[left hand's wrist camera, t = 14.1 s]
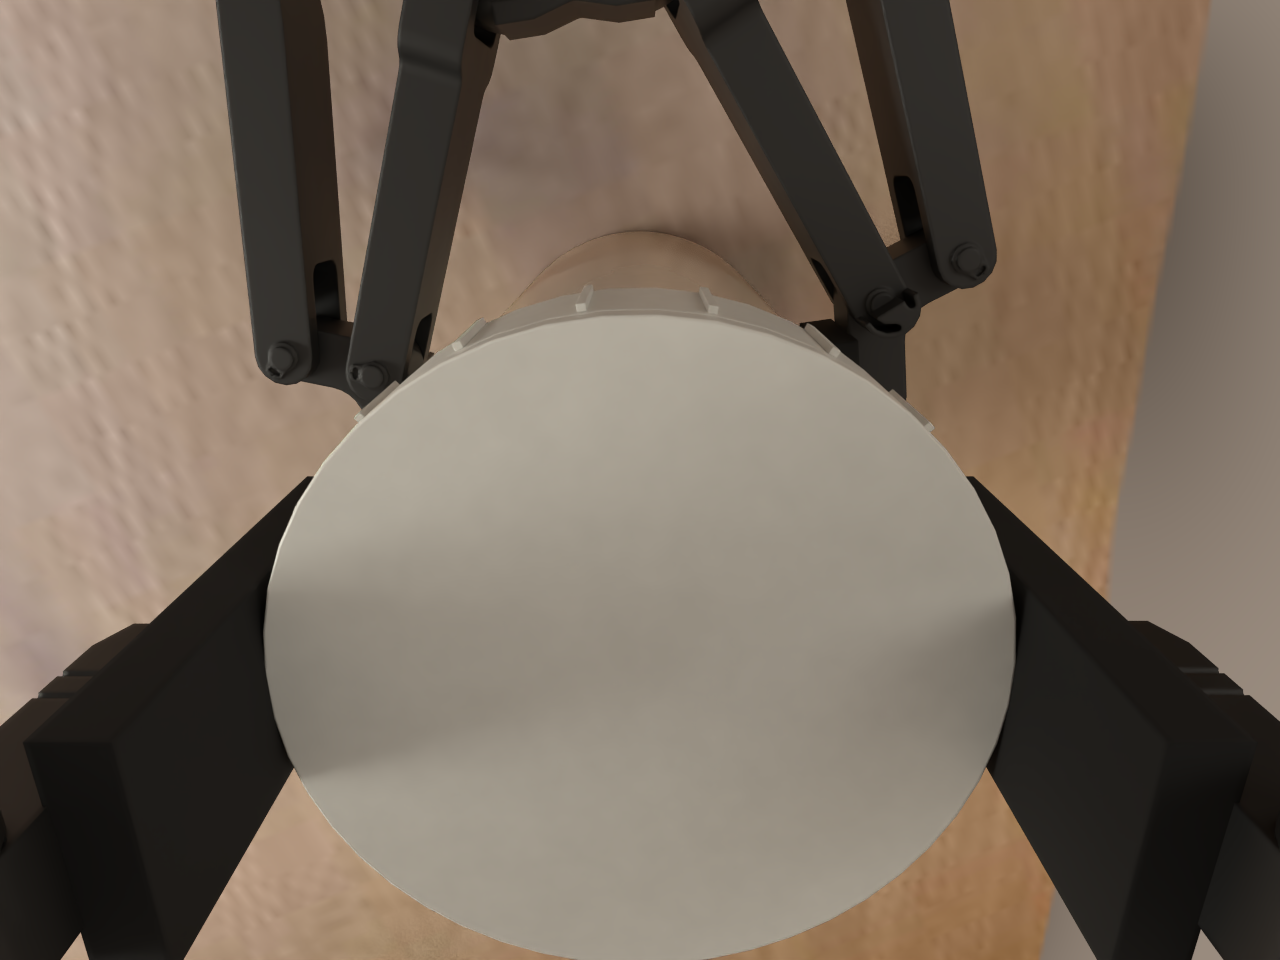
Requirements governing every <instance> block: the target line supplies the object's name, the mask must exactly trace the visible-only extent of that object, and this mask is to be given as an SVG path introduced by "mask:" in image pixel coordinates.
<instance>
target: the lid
mask: <svg viewBox="0 0 1280 960" xmlns="http://www.w3.org/2000/svg"><path fill="white" fill-rule="evenodd" d="M354 419H355V420H356V421H357V422H358V423H357V424H356V425H355V426H354V428H353V429H352V430H351V431H350V432H349V433H348V434H347V436H346V437H345V438H344V439H343V440H342V441H341V442H340V444H339V445H338V446H337V447H336V448H335V449H334V450H333V452H332V453H331V454H330V455H329V456H328V457H327V458H326V460H325V461H324V462H323V463H322V465H321V467H320V468H319V470H318V471H317V473H316V474H315V476H314V478H313V479H312V481H311V482H310V484H309V485H308V487H307V488H306V490H305V492H304V493H303V495H302V496H301V498H300V499H299V501H298V503H297V505H296V506H295V509H294V511H293V514H292V516H291V519H290V521H289V523H288V525H287V528H286V530H285V532H284V535H283V537H282V539H281V541H280V544H279V547H278V551H277V554H276V558H275V562H274V566H273V569H272V573H271V577H270V581H269V585H268V589H267V599H266V608H265V618H264V628H263V640H264V659H265V669H266V676H267V681H268V687H269V692H270V698H271V703H272V708H273V714H274V719H275V721H276V724H277V727H278V730H279V732H280V735H281V738H282V741H283V744H284V746H285V749H286V752H287V755H288V757H289V759H290V761H291V763H292V764H293V766H294V768H295V770H296V772H297V774H298V776H299V778H300V780H301V781H302V783H303V785H304V787H305V789H306V791H307V793H308V794H309V796H310V797H311V798H312V800H313V801H314V803H315V804H316V805H317V807H318V808H319V810H320V811H321V812H322V814H323V815H324V817H325V818H326V819H327V821H328V822H329V824H330V825H331V826H332V827H333V829H334V830H335V831H336V832H337V833H338V834H339V835H340V836H341V837H342V838H343V839H344V840H345V842H346V843H347V844H348V845H349V846H350V847H351V848H352V849H353V850H354V851H355V852H356V853H357V855H358V856H359V857H360V858H362V859H363V860H364V861H365V862H366V863H367V864H369V865H370V866H371V867H372V868H373V869H375V870H376V871H377V872H378V873H379V874H380V875H382V876H383V877H384V878H385V879H386V880H387V881H389V882H390V883H391V884H392V885H394V886H395V887H397V888H398V889H400V890H401V891H403V892H404V893H406V894H407V895H409V896H410V897H412V898H413V899H415V900H416V901H418V902H419V903H421V904H422V905H424V906H425V907H427V908H429V909H431V910H433V911H434V912H436V913H438V914H440V915H442V916H444V917H446V918H448V919H450V920H452V921H453V922H455V923H457V924H459V925H461V926H463V927H466V928H468V929H471V930H473V931H476V932H478V933H481V934H483V935H486V936H488V937H491V938H493V939H496V940H498V941H501V942H504V943H507V944H511V945H515V946H518V947H522V948H525V949H529V950H532V951H536V952H539V953H543V954H548V955H554V956H560V957H565V958H571V959H576V960H704V959H712V958H716V957H721V956H726V955H730V954H735V953H740V952H744V951H749V950H753V949H756V948H759V947H762V946H765V945H768V944H772V943H775V942H778V941H781V940H784V939H787V938H790V937H793V936H795V935H797V934H800V933H802V932H804V931H806V930H809V929H811V928H813V927H816V926H818V925H820V924H822V923H825V922H827V921H829V920H831V919H833V918H835V917H836V916H838V915H840V914H842V913H843V912H845V911H847V910H849V909H850V908H852V907H854V906H856V905H857V904H859V903H861V902H863V901H864V900H866V899H867V898H869V897H870V896H872V895H873V894H874V893H876V892H877V891H878V890H880V889H881V888H883V887H884V886H885V885H887V884H888V883H889V882H891V881H892V880H894V879H895V878H896V877H898V876H899V875H900V874H901V873H902V872H904V871H905V870H906V869H907V868H908V867H909V866H910V865H911V864H912V863H913V862H914V861H915V860H917V859H918V858H919V857H920V856H921V855H922V854H923V853H924V852H925V851H926V850H927V849H928V848H930V847H931V845H932V844H933V843H934V842H935V841H936V839H937V838H938V837H939V836H940V835H941V834H942V832H943V831H944V830H945V829H946V828H947V827H948V825H949V824H950V823H951V822H952V821H953V819H954V818H955V817H956V816H957V815H958V813H959V811H960V810H961V808H962V807H963V805H964V804H965V802H966V801H967V799H968V798H969V796H970V794H971V793H972V791H973V790H974V788H975V787H976V785H977V784H978V782H979V781H980V778H981V776H982V774H983V772H984V770H985V768H986V766H987V764H988V762H989V759H990V757H991V755H992V753H993V751H994V749H995V747H996V745H997V742H998V739H999V736H1000V732H1001V729H1002V726H1003V723H1004V719H1005V716H1006V713H1007V710H1008V706H1009V701H1010V695H1011V689H1012V683H1013V677H1014V671H1015V664H1016V614H1015V608H1014V601H1013V595H1012V588H1011V582H1010V576H1009V571H1008V568H1007V565H1006V562H1005V559H1004V556H1003V553H1002V550H1001V547H1000V543H999V540H998V537H997V534H996V531H995V529H994V527H993V525H992V523H991V521H990V519H989V517H988V515H987V513H986V511H985V509H984V507H983V505H982V503H981V501H980V499H979V497H978V495H977V493H976V491H975V489H974V487H973V486H972V485H971V483H970V482H969V480H968V479H967V478H966V476H965V475H964V473H963V472H962V471H961V469H960V468H959V466H958V465H957V464H956V462H955V461H954V459H953V458H952V457H951V455H950V454H949V452H948V451H947V450H946V448H945V447H944V446H943V445H942V444H941V443H940V442H939V441H938V440H937V439H936V438H935V437H934V436H933V435H932V434H931V433H930V432H931V431H932V430H933V429H934V428H935V427H934V426H933V425H932V424H931V423H930V422H929V421H928V420H927V419H926V418H925V417H924V416H923V415H921V414H920V413H919V412H918V411H917V410H916V409H915V408H914V407H912V406H911V405H910V404H909V403H908V402H907V401H906V400H904V399H903V398H902V397H901V396H900V395H899V394H898V393H897V392H895V391H894V390H893V389H892V390H891V391H890V392H888V391H887V390H885V389H884V388H883V387H882V386H881V385H880V384H879V383H878V382H877V381H876V380H875V379H873V378H872V377H871V376H870V375H869V374H868V373H867V372H866V371H865V370H863V369H862V368H861V367H859V366H858V365H857V364H856V363H854V362H853V361H852V360H850V359H849V358H848V357H847V356H845V355H844V354H843V353H841V351H840V350H839V349H838V348H837V347H836V346H835V345H834V344H832V343H831V342H830V341H829V340H828V339H827V338H826V337H825V336H824V335H823V334H822V333H821V332H819V331H818V330H817V329H816V328H815V327H814V326H812V325H810V324H809V323H807V325H806V327H805V328H804V329H803V328H802V327H800V326H798V325H796V324H795V323H793V322H791V321H789V320H786V319H784V318H781V317H779V316H776V315H774V314H771V313H769V312H766V311H764V310H761V309H759V308H756V307H754V306H751V305H749V304H745V303H741V302H737V301H733V300H729V299H725V298H721V297H717V296H713V295H712V294H711V292H710V290H709V289H708V288H706V287H700V289H699V292H690V291H681V290H672V289H663V288H618V289H603V290H597V291H594V290H593V285H586V286H584V288H583V290H582V292H581V293H578V294H571V295H565V296H560V297H557V298H554V299H550V300H547V301H543V302H540V303H537V304H533V305H530V306H527V307H523V308H520V309H517V310H515V311H512V312H510V313H508V314H506V315H504V316H501V317H499V318H497V319H495V320H493V321H490V322H488V323H486V321H485V319H484V318H481V319H479V320H477V321H476V322H475V323H474V324H472V325H471V326H470V327H469V328H468V329H467V330H466V331H465V332H464V333H463V334H462V335H461V336H460V337H459V338H458V339H457V340H456V341H454V342H453V343H451V344H450V345H448V346H447V347H445V348H444V349H442V350H440V351H439V352H437V353H436V354H435V355H434V356H433V357H432V358H430V359H429V360H428V361H427V362H426V363H424V364H423V365H422V366H421V367H420V368H419V369H417V370H416V371H415V372H414V373H413V374H412V375H410V376H409V377H408V378H407V379H406V380H405V381H403V382H402V383H401V384H399V383H398V382H396V381H394V382H393V383H392V384H391V385H390V386H388V387H387V388H386V389H385V390H384V391H383V392H382V393H380V394H379V395H378V396H377V397H376V398H375V399H374V400H372V401H371V402H370V403H369V404H368V405H367V406H366V407H364V408H363V409H362V410H361V411H360V412H359V413H358V414H357V415H356V416H355V417H354Z"/></svg>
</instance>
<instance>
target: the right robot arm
mask: <svg viewBox="0 0 1280 960" xmlns="http://www.w3.org/2000/svg"><path fill="white" fill-rule="evenodd" d="M846 3H847V7H848V12H849V16H850V20H851V25H852V29H853V34H854V38H855V42H856V47H857V51H858V55H859V60H860V64H861V69H862V73H863V77H864V82H865V86H866V91H867V95H868V99H869V104H870V108H871V112H872V117H873V121H874V126H875V130H876V134H877V139H878V143H879V148H880V152H881V156H882V161H883V165H884V169H885V174H886V178H887V183H888V187H889V191H890V196H891V200H892V205H893V209H894V213H895V218H896V222H897V226H898V231H899V235H900V241H898V242H896V243H894V244H892V245H891V246H889V247H887V248H886V246H885V244H884V242H883V240H882V238H881V236H880V235H879V233H878V231H877V229H876V227H875V225H874V223H873V221H872V219H871V217H870V215H869V214H868V212H867V210H866V208H865V206H864V204H863V202H862V200H861V198H860V196H859V194H858V193H857V191H856V189H855V187H854V185H853V183H852V181H851V179H850V177H849V175H848V173H847V172H846V170H845V168H844V166H843V164H842V162H841V160H840V158H839V156H838V154H837V152H836V151H835V149H834V147H833V145H832V143H831V141H830V139H829V137H828V135H827V133H826V131H825V129H824V128H823V126H822V124H821V122H820V120H819V118H818V116H817V114H816V112H815V110H814V108H813V107H812V105H811V103H810V101H809V99H808V97H807V95H806V93H805V91H804V89H803V87H802V86H801V84H800V82H799V80H798V78H797V76H796V74H795V72H794V70H793V68H792V66H791V65H790V63H789V61H788V59H787V57H786V55H785V53H784V51H783V49H782V47H781V45H780V44H779V42H778V40H777V38H776V36H775V34H774V32H773V30H772V28H771V26H770V24H769V23H768V21H767V19H766V17H765V15H764V13H763V11H762V9H761V6H760V4H759V1H758V0H403V5H402V11H401V17H400V22H399V30H398V52H399V59H400V60H399V72H398V78H397V83H396V89H395V95H394V100H393V106H392V111H391V117H390V123H389V128H388V134H387V139H386V145H385V151H384V156H383V162H382V167H381V173H380V179H379V184H378V190H377V195H376V201H375V207H374V212H373V218H372V223H371V229H370V235H369V240H368V246H367V251H366V257H365V263H364V268H363V274H362V279H361V285H360V291H359V296H358V302H357V307H356V313H355V319H354V323H353V322H348V321H347V314H346V300H345V286H344V272H343V257H342V243H341V229H340V215H339V201H338V187H337V173H336V159H335V145H334V131H333V117H332V103H331V89H330V75H329V61H328V47H327V37H326V28H325V20H324V14H323V10H322V5H321V1H320V0H216V7H217V16H218V25H219V34H220V43H221V52H222V61H223V70H224V79H225V88H226V98H227V107H228V116H229V125H230V134H231V143H232V152H233V161H234V170H235V179H236V188H237V197H238V206H239V215H240V224H241V233H242V242H243V251H244V260H245V269H246V278H247V287H248V296H249V305H250V315H251V324H252V333H253V342H254V351H255V357H256V361H257V364H258V367H259V368H260V370H261V371H262V372H263V374H264V375H265V376H266V377H268V378H269V379H271V380H272V381H274V382H275V383H279V384H284V385H290V384H297V383H298V382H300V381H303V382H308V383H313V384H318V385H323V386H328V387H333V388H336V389H339V390H342V391H343V392H345V393H347V394H349V395H350V396H351V397H352V398H353V399H354V400H355V401H356V402H357V403H358V405H359V406H360V408H361V409H363V408H364V407H366V406H367V405H368V404H369V403H370V402H371V401H372V400H374V399H375V398H376V397H377V396H378V395H379V394H380V393H382V392H383V391H384V390H385V389H386V388H387V387H388V386H390V385H391V384H392V383H393V382H394V381H396V382H398V383H399V384H401V383H402V382H403V381H405V380H406V379H407V378H408V377H409V376H410V375H412V374H413V373H414V372H415V371H416V370H417V369H419V368H420V367H421V366H422V365H423V364H424V363H426V362H427V361H428V360H429V359H430V358H432V357H433V355H434V353H432V352H429V349H430V344H431V340H432V335H433V330H434V325H435V321H436V316H437V311H438V306H439V302H440V297H441V292H442V288H443V283H444V278H445V273H446V269H447V264H448V259H449V255H450V250H451V245H452V240H453V236H454V231H455V226H456V222H457V217H458V212H459V207H460V203H461V198H462V193H463V189H464V184H465V179H466V174H467V170H468V165H469V160H470V156H471V151H472V146H473V141H474V137H475V132H476V127H477V122H478V118H479V113H480V108H481V104H482V99H483V95H484V92H485V89H486V87H487V86H488V84H489V81H490V78H491V75H492V71H493V67H494V63H495V58H496V53H497V49H498V44H499V39H500V35H501V34H503V35H505V36H506V37H507V38H508V39H509V40H514V39H520V38H526V37H533V36H539V35H545V34H547V33H549V32H551V31H553V30H555V29H557V28H560V27H562V26H564V25H566V24H568V23H570V22H572V21H574V20H576V19H578V18H589V19H596V20H603V21H611V22H618V23H620V22H626V21H632V20H639V19H645V18H651V17H655V11H656V10H658V9H660V8H662V7H665V9H666V11H667V13H668V15H669V16H670V18H671V20H672V22H673V24H674V25H675V27H676V29H677V31H678V33H679V34H680V36H681V38H682V40H683V41H684V43H685V45H686V46H687V48H688V49H689V51H690V52H691V53H692V55H693V56H694V57H695V59H696V60H697V62H698V63H699V65H700V67H701V69H702V70H703V72H704V74H705V76H706V78H707V79H708V81H709V83H710V85H711V87H712V88H713V90H714V92H715V94H716V95H717V97H718V99H719V101H720V103H721V104H722V106H723V108H724V110H725V112H726V113H727V115H728V117H729V119H730V121H731V122H732V124H733V126H734V128H735V130H736V131H737V133H738V135H739V137H740V139H741V140H742V142H743V144H744V146H745V148H746V149H747V151H748V153H749V155H750V156H751V158H752V160H753V162H754V164H755V165H756V167H757V169H758V171H759V173H760V174H761V176H762V178H763V180H764V182H765V183H766V185H767V187H768V189H769V191H770V192H771V194H772V196H773V198H774V200H775V201H776V203H777V205H778V207H779V209H780V210H781V212H782V214H783V216H784V217H785V219H786V221H787V223H788V225H789V226H790V228H791V230H792V232H793V234H794V235H795V237H796V239H797V241H798V243H799V244H800V246H801V248H802V250H803V252H804V253H805V255H806V257H807V259H808V261H809V262H810V264H811V266H812V268H813V270H814V271H815V273H816V275H817V277H818V278H819V280H820V282H821V284H822V286H823V287H824V289H825V291H826V293H827V295H828V296H829V298H830V300H831V302H832V303H833V304H834V319H835V322H834V321H833V320H832V319H826V320H819V321H812V322H805V323H800V327H802V328H803V329H804V328H805V327H806V325H807V323H809V324H810V325H812V326H814V327H815V328H816V329H817V330H818V331H819V332H821V333H822V334H823V335H824V336H825V337H826V338H827V339H828V340H829V341H830V342H831V343H832V344H834V345H835V346H836V347H837V348H838V349H839V350H840V351H841V353H843V354H844V355H845V356H847V357H848V358H849V359H850V360H852V361H853V362H854V363H856V364H857V365H858V366H859V367H861V368H862V369H863V370H865V371H866V372H867V373H868V374H869V375H870V376H871V377H872V378H873V379H875V380H876V381H877V382H878V383H879V384H880V385H881V386H882V387H883V388H884V389H885V390H887V391H888V392H890V391H891V390H892V389H893V390H894V391H895V392H897V393H898V394H899V395H900V396H901V397H902V398H903V399H904V400H906V398H907V395H906V365H905V334H906V333H907V332H908V331H909V330H911V329H912V328H913V327H914V326H915V324H916V322H917V320H918V318H919V317H920V312H921V308H922V307H923V306H925V305H926V304H928V303H929V302H931V301H933V300H935V299H937V298H939V297H941V296H943V295H945V294H947V293H949V292H951V291H953V290H955V289H957V288H960V289H965V288H973V287H975V286H977V285H979V284H980V283H982V282H984V281H985V280H986V279H987V277H988V276H989V275H990V274H991V273H992V271H993V269H994V266H995V264H996V259H997V249H996V244H995V238H994V233H993V228H992V223H991V217H990V212H989V207H988V202H987V196H986V191H985V186H984V181H983V176H982V170H981V165H980V160H979V155H978V149H977V144H976V139H975V134H974V128H973V123H972V118H971V113H970V107H969V102H968V97H967V92H966V86H965V81H964V76H963V71H962V65H961V60H960V55H959V50H958V44H957V39H956V34H955V29H954V23H953V18H952V13H951V8H950V2H949V0H846Z"/></svg>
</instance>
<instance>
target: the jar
mask: <svg viewBox="0 0 1280 960" xmlns="http://www.w3.org/2000/svg"><path fill="white" fill-rule="evenodd" d="M586 285H593V290H594V291H597V290H603V289H618V288H663V289H672V290H681V291H690V292H699V289H700V287H706V288H708V289H709V290H710V292H711V294H712V295H713V296H717V297H721V298H725V299H729V300H733V301H737V302H741V303H745V304H749V305H751V306H754V307H756V308H759V309H761V310H764V311H766V312H769V313H771V314H774V315H776V316H778V315H777V314H776V313H775V312H774V310H773V309H772V308H771V307H770V306H769V305H768V304H767V303H766V302H765V301H764V300H763V299H762V298H761V296H760V295H759V294H758V293H757V292H756V291H755V290H754V289H753V288H752V287H751V286H750V285H749V283H748V282H747V281H746V280H745V279H744V278H743V277H742V276H741V275H740V274H739V273H738V272H737V271H736V270H735V269H734V268H733V267H732V266H731V265H730V264H728V263H727V262H726V261H725V260H723V259H722V258H721V257H719V256H718V255H717V254H715V253H713V252H712V251H710V250H708V249H706V248H705V247H703V246H701V245H699V244H697V243H694V242H692V241H689V240H687V239H684V238H681V237H677V236H673V235H669V234H665V233H657V232H648V231H637V232H622V233H616V234H610V235H606V236H603V237H599V238H596V239H593V240H590V241H588V242H586V243H583V244H581V245H579V246H577V247H575V248H573V249H571V250H570V251H568V252H567V253H565V254H563V255H562V256H560V257H559V258H557V259H556V260H555V261H554V262H553V263H552V264H550V265H549V266H548V267H547V268H546V269H544V270H543V271H542V273H541V274H540V275H539V276H538V277H537V278H536V279H535V280H534V281H533V282H532V283H531V284H530V286H529V287H528V288H527V289H526V290H525V291H524V292H523V293H522V294H521V295H520V296H519V297H518V299H517V300H516V301H515V302H514V303H513V304H512V305H511V306H510V307H509V308H508V309H507V310H506V312H505V313H504V314H503V315H502V316H504V315H506V314H508V313H510V312H512V311H515V310H517V309H520V308H523V307H527V306H530V305H533V304H537V303H540V302H543V301H547V300H550V299H554V298H557V297H560V296H565V295H571V294H578V293H581V292H582V290H583V288H584V286H586Z"/></svg>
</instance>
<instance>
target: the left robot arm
mask: <svg viewBox="0 0 1280 960" xmlns="http://www.w3.org/2000/svg"><path fill="white" fill-rule="evenodd" d="M313 478H314V476H307V477H306V478H305V479H304V480H303V481H302V482H301V483H300V484H299V485H298V486H297V487H295V488H294V489H293V490H292V491H291V492H290V493H289V494H288V495H287V496H286V497H285V498H284V499H283V500H282V501H280V502H279V503H278V504H277V505H276V506H275V507H274V508H273V509H272V510H271V511H270V512H269V513H268V514H267V515H265V516H264V517H263V518H262V519H261V520H260V521H259V522H258V523H257V524H256V525H255V526H254V527H253V528H252V529H250V530H249V531H248V532H247V533H246V534H245V535H244V536H243V537H242V538H241V539H240V540H239V541H238V542H237V543H235V544H234V545H233V546H232V547H231V548H230V549H229V550H228V551H227V552H226V553H225V554H224V555H223V556H222V557H220V558H219V559H218V560H217V561H216V562H215V563H214V564H213V565H212V566H211V567H210V568H209V569H208V570H207V571H206V572H204V573H203V574H202V575H201V576H200V577H199V578H198V579H197V580H196V581H195V582H194V583H193V584H192V585H191V586H189V587H188V588H187V589H186V590H185V591H184V592H183V593H182V594H181V595H180V596H179V597H178V598H177V599H176V600H174V601H173V602H172V603H171V604H170V605H169V606H168V607H167V608H166V609H165V610H164V611H163V612H162V613H161V614H159V615H158V616H157V617H156V618H155V619H154V620H153V621H152V622H151V623H150V624H132V625H131V626H129V627H127V628H125V629H123V630H121V631H119V632H117V633H115V634H113V635H112V636H110V637H108V638H106V639H104V640H102V641H100V642H98V643H96V644H95V645H93V646H91V647H90V648H89V649H88V650H87V651H86V652H85V653H83V654H82V655H81V656H80V657H79V658H78V659H77V660H75V661H74V662H73V663H72V664H71V665H70V666H69V667H67V668H66V669H65V670H64V671H63V676H57V677H56V678H55V679H54V680H53V681H51V682H50V683H49V684H48V685H47V686H46V687H45V688H43V689H42V690H41V691H40V692H39V696H38V698H32V699H31V700H30V701H29V702H28V703H26V704H25V705H24V706H23V707H22V708H21V709H20V710H18V711H17V712H16V713H15V714H14V715H13V716H12V717H10V718H9V719H8V720H7V721H6V722H5V723H4V724H2V725H1V726H0V960H61V958H62V957H63V956H64V954H65V953H66V951H67V950H68V949H69V947H70V946H71V945H72V943H73V942H74V941H75V939H76V938H77V936H78V935H79V934H80V932H81V935H82V938H83V941H84V944H85V948H86V951H87V954H88V957H89V960H184V958H185V956H186V954H187V953H188V951H189V949H190V947H191V946H192V944H193V942H194V940H195V939H196V937H197V935H198V933H199V932H200V930H201V928H202V927H203V925H204V923H205V921H206V920H207V918H208V916H209V914H210V913H211V911H212V909H213V907H214V906H215V904H216V902H217V900H218V899H219V897H220V895H221V893H222V892H223V890H224V888H225V887H226V885H227V883H228V881H229V880H230V878H231V876H232V874H233V873H234V871H235V869H236V867H237V866H238V864H239V862H240V860H241V859H242V857H243V855H244V853H245V852H246V850H247V848H248V846H249V845H250V843H251V841H252V840H253V838H254V836H255V834H256V833H257V831H258V829H259V827H260V826H261V824H262V822H263V820H264V819H265V817H266V815H267V813H268V812H269V810H270V808H271V806H272V805H273V803H274V801H275V800H276V798H277V796H278V794H279V793H280V791H281V789H282V787H283V786H284V784H285V782H286V780H287V779H288V777H289V775H290V773H291V772H292V770H293V768H294V766H293V764H292V763H291V761H290V759H289V757H288V755H287V752H286V749H285V746H284V744H283V741H282V738H281V735H280V732H279V730H278V727H277V724H276V721H275V719H274V714H273V708H272V703H271V698H270V692H269V687H268V681H267V676H266V669H265V659H264V640H263V628H264V618H265V608H266V599H267V589H268V585H269V581H270V577H271V573H272V569H273V566H274V562H275V558H276V554H277V551H278V547H279V544H280V541H281V539H282V537H283V535H284V532H285V530H286V528H287V525H288V523H289V521H290V519H291V516H292V514H293V511H294V509H295V506H296V505H297V503H298V501H299V499H300V498H301V496H302V495H303V493H304V492H305V490H306V488H307V487H308V485H309V484H310V482H311V481H312V479H313ZM966 478H967V479H968V480H969V482H970V483H971V485H972V486H973V487H974V489H975V491H976V493H977V495H978V497H979V499H980V501H981V503H982V505H983V507H984V509H985V511H986V513H987V515H988V517H989V519H990V521H991V523H992V525H993V527H994V529H995V531H996V534H997V537H998V540H999V543H1000V547H1001V550H1002V553H1003V556H1004V559H1005V562H1006V565H1007V568H1008V571H1009V576H1010V582H1011V588H1012V595H1013V601H1014V608H1015V614H1016V664H1015V671H1014V677H1013V683H1012V689H1011V695H1010V701H1009V706H1008V710H1007V713H1006V716H1005V719H1004V723H1003V726H1002V729H1001V732H1000V736H999V739H998V742H997V745H996V747H995V749H994V751H993V753H992V755H991V757H990V759H989V762H988V764H987V766H986V767H987V769H988V771H989V773H990V774H991V776H992V778H993V779H994V781H995V783H996V785H997V786H998V788H999V790H1000V792H1001V793H1002V795H1003V797H1004V799H1005V800H1006V802H1007V804H1008V806H1009V807H1010V809H1011V811H1012V813H1013V814H1014V816H1015V818H1016V819H1017V821H1018V823H1019V825H1020V826H1021V828H1022V830H1023V832H1024V833H1025V835H1026V837H1027V839H1028V840H1029V842H1030V844H1031V846H1032V847H1033V849H1034V851H1035V853H1036V854H1037V856H1038V858H1039V859H1040V861H1041V863H1042V865H1043V866H1044V868H1045V870H1046V872H1047V873H1048V875H1049V877H1050V879H1051V880H1052V882H1053V884H1054V886H1055V887H1056V889H1057V891H1058V893H1059V894H1060V896H1061V898H1062V899H1063V901H1064V903H1065V905H1066V906H1067V908H1068V910H1069V912H1070V913H1071V915H1072V917H1073V919H1074V920H1075V922H1076V924H1077V926H1078V927H1079V929H1080V931H1081V933H1082V934H1083V936H1084V938H1085V939H1086V941H1087V943H1088V945H1089V946H1090V948H1091V950H1092V952H1093V953H1094V955H1095V957H1096V959H1097V960H1191V959H1192V956H1193V953H1194V950H1195V946H1196V943H1197V940H1198V936H1199V933H1200V930H1202V931H1203V932H1204V934H1205V935H1206V936H1207V938H1208V939H1209V941H1210V942H1211V943H1212V945H1213V946H1214V947H1215V949H1216V950H1217V951H1218V953H1219V954H1220V956H1221V957H1222V958H1223V960H1280V721H1278V720H1277V719H1276V718H1275V717H1274V716H1273V715H1272V714H1270V713H1269V712H1268V711H1267V710H1266V709H1265V708H1264V707H1262V706H1261V705H1260V704H1259V703H1258V702H1257V701H1256V700H1254V699H1253V698H1252V697H1251V696H1250V695H1244V694H1243V689H1242V688H1241V687H1239V686H1238V685H1237V684H1236V683H1235V682H1234V681H1232V680H1231V679H1230V678H1229V677H1228V676H1227V675H1225V674H1224V673H1219V671H1218V668H1217V667H1216V666H1215V665H1214V664H1213V663H1212V662H1211V661H1209V660H1208V659H1207V658H1206V657H1205V656H1204V655H1203V654H1201V653H1200V652H1199V651H1198V650H1197V649H1196V648H1195V647H1193V646H1192V645H1191V644H1190V643H1189V642H1187V641H1185V640H1183V639H1181V638H1179V637H1177V636H1175V635H1173V634H1171V633H1169V632H1168V631H1166V630H1164V629H1162V628H1160V627H1158V626H1156V625H1154V624H1152V623H1151V622H1149V621H1128V620H1126V619H1125V618H1124V617H1123V616H1122V615H1121V614H1120V613H1119V612H1118V611H1117V610H1116V609H1115V608H1114V607H1113V606H1111V605H1110V604H1109V603H1108V602H1107V601H1106V600H1105V599H1104V598H1103V597H1102V596H1101V595H1100V594H1099V593H1098V592H1096V591H1095V590H1094V589H1093V588H1092V587H1091V586H1090V585H1089V584H1088V583H1087V582H1086V581H1085V580H1084V579H1083V578H1082V577H1080V576H1079V575H1078V574H1077V573H1076V572H1075V571H1074V570H1073V569H1072V568H1071V567H1070V566H1069V565H1068V564H1067V563H1065V562H1064V561H1063V560H1062V559H1061V558H1060V557H1059V556H1058V555H1057V554H1056V553H1055V552H1054V551H1053V550H1052V549H1050V548H1049V547H1048V546H1047V545H1046V544H1045V543H1044V542H1043V541H1042V540H1041V539H1040V538H1039V537H1038V536H1037V535H1035V534H1034V533H1033V532H1032V531H1031V530H1030V529H1029V528H1028V527H1027V526H1026V525H1025V524H1024V523H1023V522H1022V521H1020V520H1019V519H1018V518H1017V517H1016V516H1015V515H1014V514H1013V513H1012V512H1011V511H1010V510H1009V509H1008V508H1007V507H1005V506H1004V505H1003V504H1002V503H1001V502H1000V501H999V500H998V499H997V498H996V497H995V496H994V495H993V494H992V493H990V492H989V491H988V490H987V489H986V488H985V487H984V486H983V485H982V484H981V483H980V482H979V481H978V480H977V479H975V478H974V477H971V476H966Z"/></svg>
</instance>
